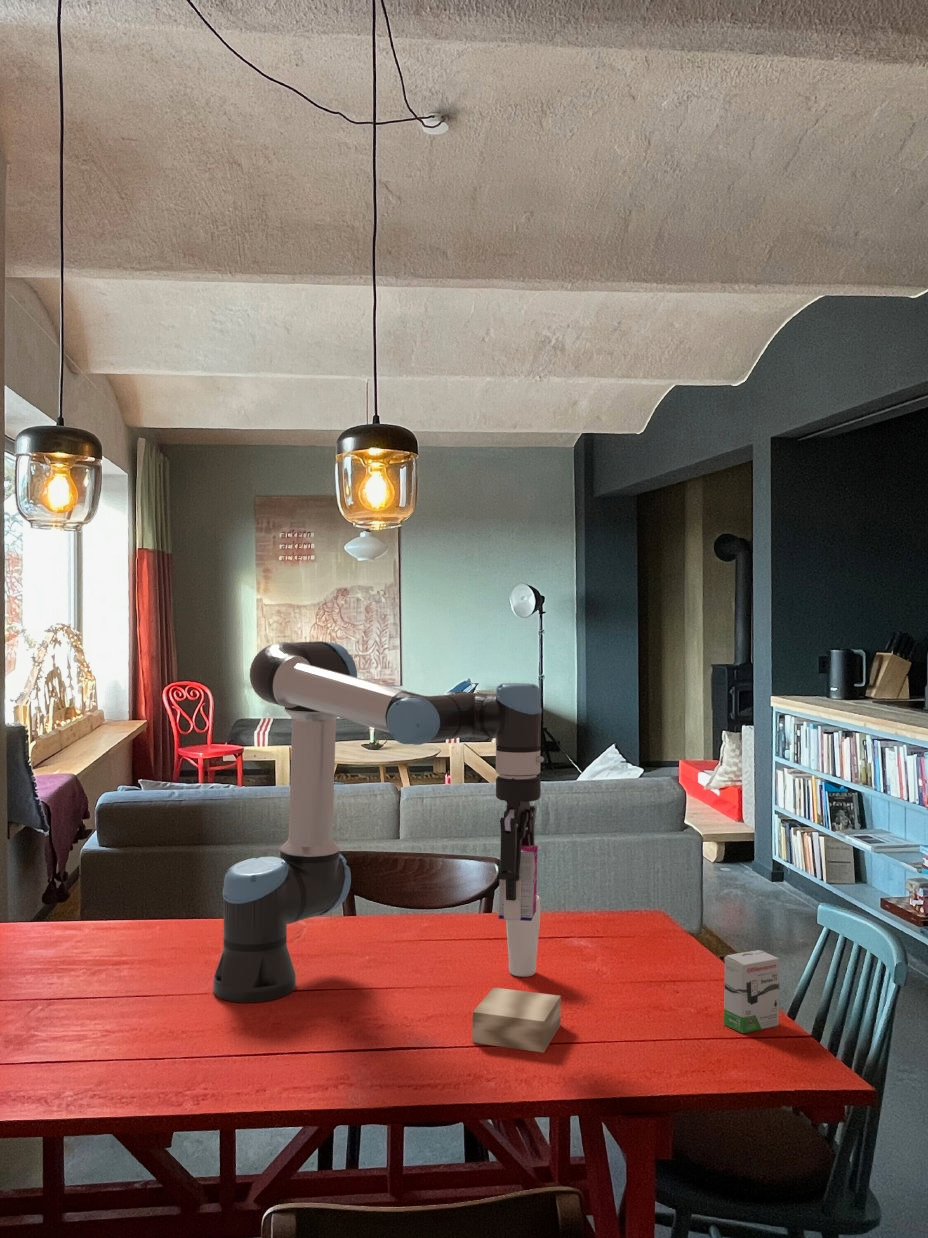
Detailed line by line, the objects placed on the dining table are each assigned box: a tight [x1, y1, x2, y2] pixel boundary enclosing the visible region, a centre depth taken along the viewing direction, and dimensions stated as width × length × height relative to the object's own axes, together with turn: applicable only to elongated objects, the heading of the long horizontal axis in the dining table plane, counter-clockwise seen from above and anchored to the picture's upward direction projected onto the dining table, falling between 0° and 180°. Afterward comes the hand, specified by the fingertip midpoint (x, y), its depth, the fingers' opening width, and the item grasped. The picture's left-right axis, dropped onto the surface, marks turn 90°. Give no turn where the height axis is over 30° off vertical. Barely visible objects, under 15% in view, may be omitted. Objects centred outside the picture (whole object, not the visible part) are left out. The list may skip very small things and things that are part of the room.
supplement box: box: [497, 845, 539, 921], centre depth 174 cm, size 6×6×12 cm
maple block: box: [472, 987, 562, 1054], centre depth 174 cm, size 12×12×5 cm
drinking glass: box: [505, 894, 541, 978], centre depth 204 cm, size 7×7×15 cm
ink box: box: [723, 949, 781, 1034], centre depth 178 cm, size 9×5×12 cm, turn 117°
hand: (517, 913), depth 174 cm, fingers closed on supplement box, 6 cm apart
